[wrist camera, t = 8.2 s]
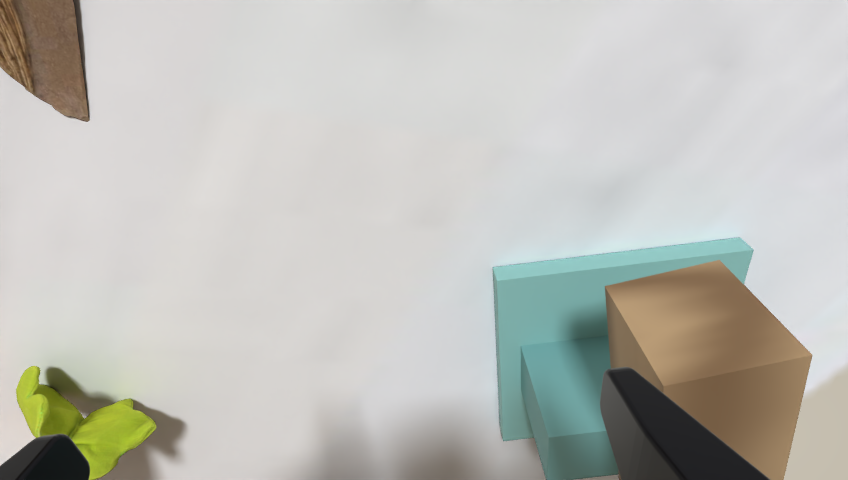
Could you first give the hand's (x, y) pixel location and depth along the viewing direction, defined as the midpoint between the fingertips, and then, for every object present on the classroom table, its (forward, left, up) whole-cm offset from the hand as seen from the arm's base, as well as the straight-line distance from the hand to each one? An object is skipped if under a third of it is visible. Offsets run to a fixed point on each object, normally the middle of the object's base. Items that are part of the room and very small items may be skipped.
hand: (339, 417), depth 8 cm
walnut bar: (-10, +12, -6) cm, 17 cm away
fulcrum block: (-10, +12, -12) cm, 20 cm away
